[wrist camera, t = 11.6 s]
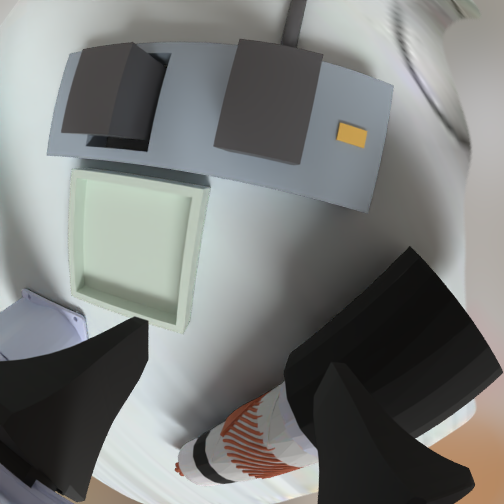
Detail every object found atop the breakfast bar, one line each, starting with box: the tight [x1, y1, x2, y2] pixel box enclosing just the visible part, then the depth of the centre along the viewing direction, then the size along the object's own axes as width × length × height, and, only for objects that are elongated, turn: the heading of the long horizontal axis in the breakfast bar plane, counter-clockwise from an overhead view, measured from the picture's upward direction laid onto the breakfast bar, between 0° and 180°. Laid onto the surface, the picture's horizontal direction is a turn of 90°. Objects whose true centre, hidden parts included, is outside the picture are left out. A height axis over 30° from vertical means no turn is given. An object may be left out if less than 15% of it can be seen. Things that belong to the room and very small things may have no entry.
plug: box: [61, 42, 167, 141], centre depth 13 cm, size 4×5×6 cm
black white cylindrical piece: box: [175, 246, 503, 486], centre depth 19 cm, size 10×34×10 cm, turn 139°
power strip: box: [47, 0, 394, 214], centre depth 11 cm, size 22×16×6 cm
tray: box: [68, 168, 211, 334], centre depth 18 cm, size 10×10×2 cm
